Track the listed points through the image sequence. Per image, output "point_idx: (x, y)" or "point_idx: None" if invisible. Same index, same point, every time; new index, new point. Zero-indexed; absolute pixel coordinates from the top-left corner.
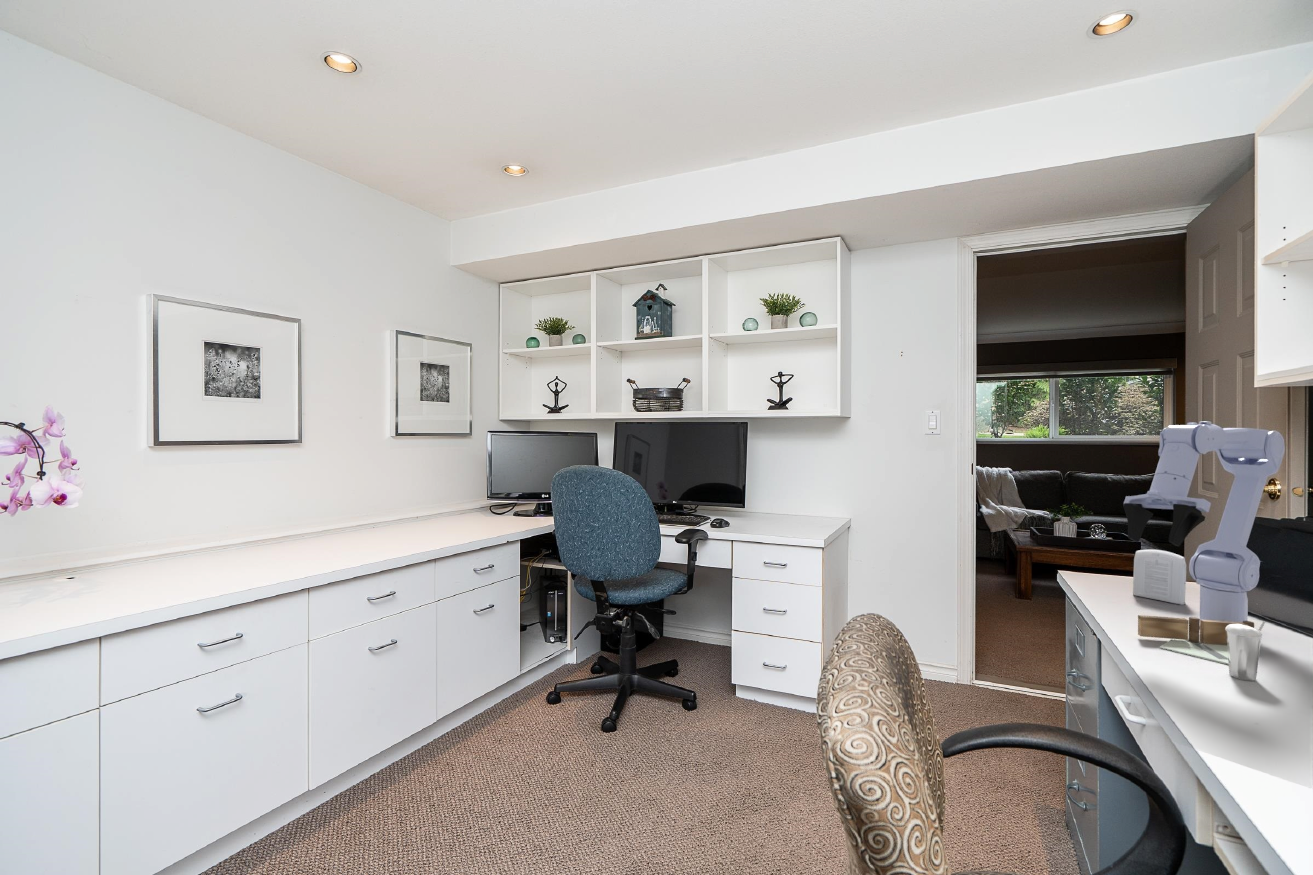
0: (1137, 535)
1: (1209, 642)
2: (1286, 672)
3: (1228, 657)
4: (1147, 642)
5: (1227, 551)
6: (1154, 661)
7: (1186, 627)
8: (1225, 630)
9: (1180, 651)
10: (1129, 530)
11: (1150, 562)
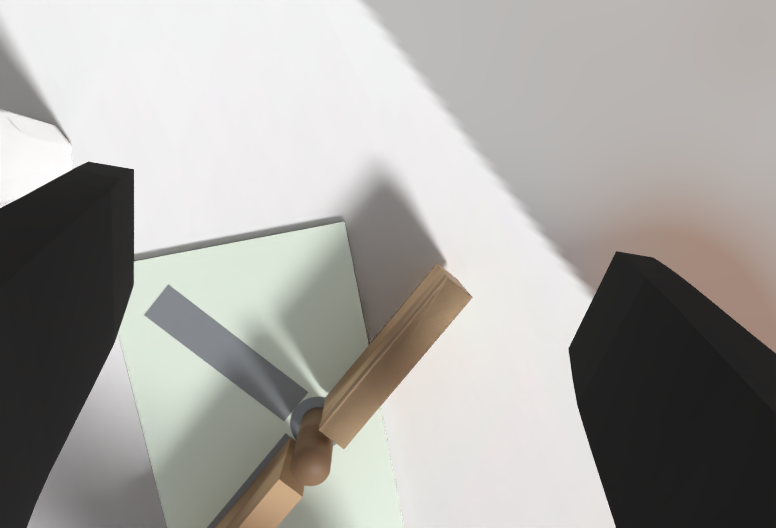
0: (602, 367)
1: (276, 454)
2: None
3: (43, 137)
4: (405, 251)
5: None
6: (268, 22)
7: (325, 411)
8: (232, 525)
9: (277, 236)
10: (693, 296)
11: None
